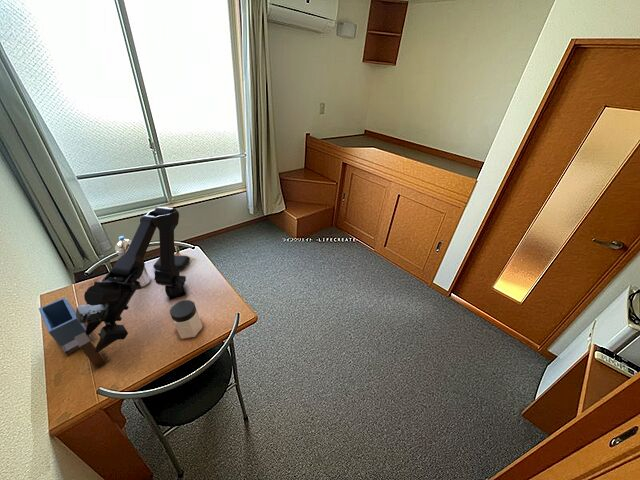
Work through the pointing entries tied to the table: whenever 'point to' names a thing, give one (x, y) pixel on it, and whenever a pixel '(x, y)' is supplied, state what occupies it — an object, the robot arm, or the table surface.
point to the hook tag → (85, 349)
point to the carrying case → (179, 262)
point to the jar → (186, 318)
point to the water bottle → (122, 249)
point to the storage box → (62, 322)
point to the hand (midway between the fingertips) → (91, 343)
